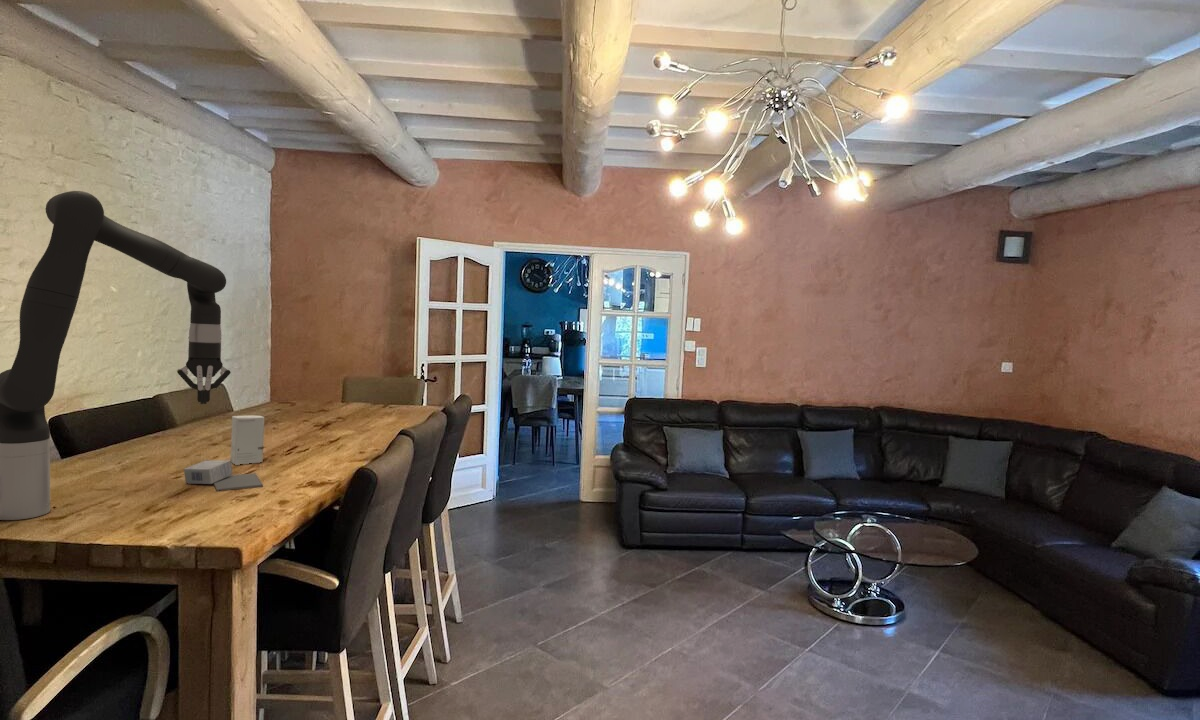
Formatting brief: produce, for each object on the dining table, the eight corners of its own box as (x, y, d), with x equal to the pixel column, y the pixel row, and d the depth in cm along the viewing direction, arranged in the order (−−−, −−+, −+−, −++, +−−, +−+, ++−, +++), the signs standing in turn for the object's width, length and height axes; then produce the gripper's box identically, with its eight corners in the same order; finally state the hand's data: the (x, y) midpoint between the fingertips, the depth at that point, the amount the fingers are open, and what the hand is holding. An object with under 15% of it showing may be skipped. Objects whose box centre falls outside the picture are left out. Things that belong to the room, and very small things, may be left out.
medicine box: (210, 484, 173) (233, 475, 181) (209, 468, 172) (231, 459, 181) (184, 484, 174) (208, 474, 182) (183, 468, 173) (206, 459, 182)
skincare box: (234, 465, 196) (235, 418, 195) (229, 462, 200) (230, 415, 199) (264, 462, 201) (265, 416, 200) (258, 459, 206) (259, 413, 205)
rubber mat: (216, 491, 168) (216, 489, 168) (211, 479, 180) (211, 477, 180) (262, 486, 175) (262, 484, 175) (255, 475, 186) (255, 473, 186)
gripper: (176, 340, 165) (174, 406, 166) (234, 342, 173) (232, 405, 174) (175, 339, 171) (174, 402, 172) (231, 340, 179) (230, 401, 180)
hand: (203, 403), depth 173 cm, fingers closed
